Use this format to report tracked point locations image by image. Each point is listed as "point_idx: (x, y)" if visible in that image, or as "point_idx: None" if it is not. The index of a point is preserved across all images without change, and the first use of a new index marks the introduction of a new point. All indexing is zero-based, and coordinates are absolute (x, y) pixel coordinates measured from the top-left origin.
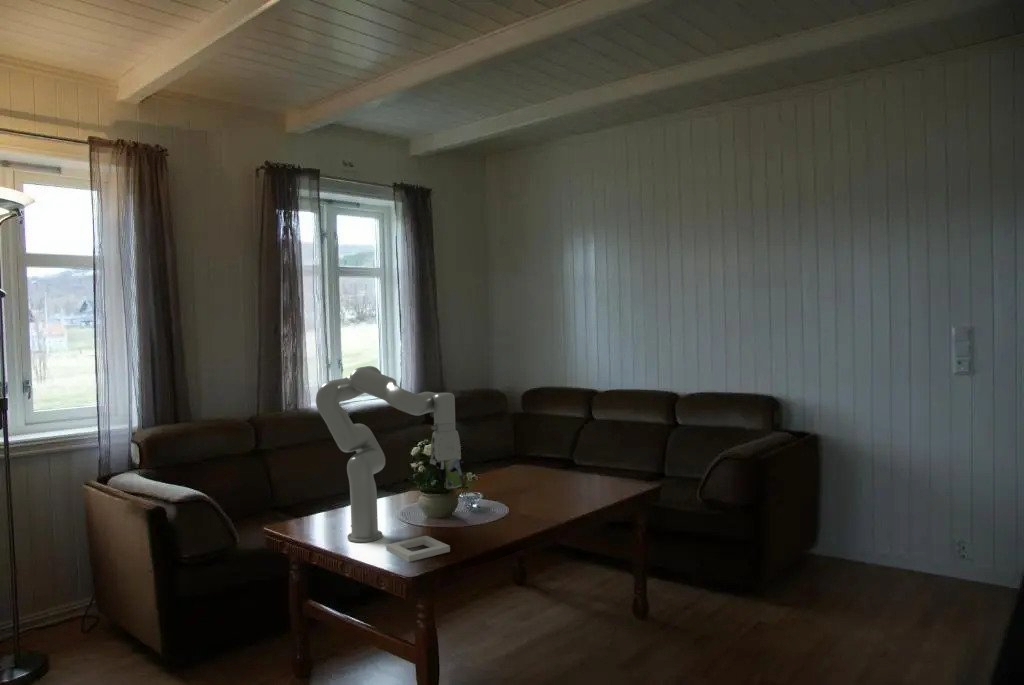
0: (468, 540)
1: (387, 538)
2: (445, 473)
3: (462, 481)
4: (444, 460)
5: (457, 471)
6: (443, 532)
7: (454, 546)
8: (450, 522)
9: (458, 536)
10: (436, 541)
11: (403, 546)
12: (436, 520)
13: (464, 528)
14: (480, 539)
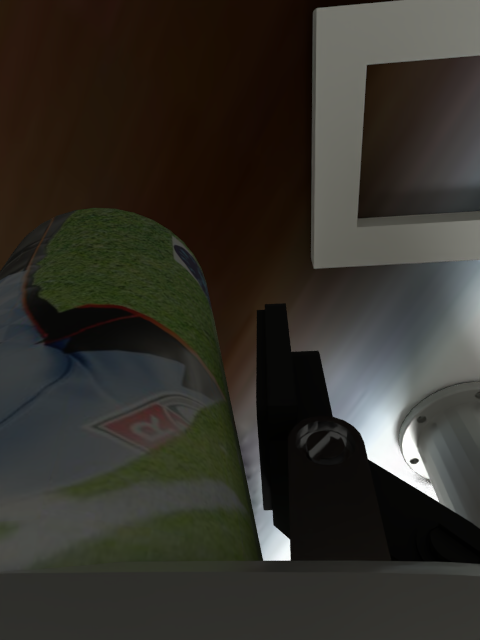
0: (141, 138)
1: (410, 380)
2: (257, 359)
3: (25, 240)
4: (359, 564)
5: (35, 300)
6: None
7: (246, 89)
8: None
9: None
10: (328, 145)
11: (466, 215)
12: None
13: None
14: (79, 112)
